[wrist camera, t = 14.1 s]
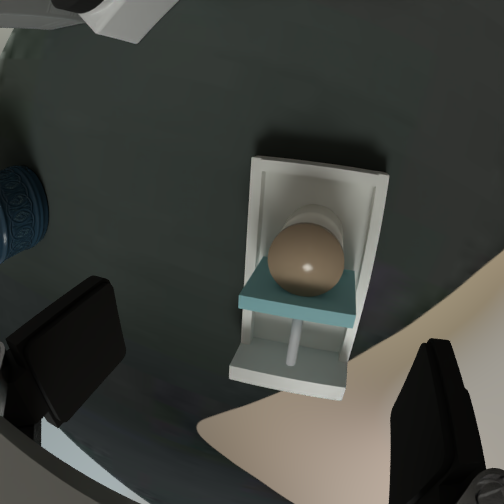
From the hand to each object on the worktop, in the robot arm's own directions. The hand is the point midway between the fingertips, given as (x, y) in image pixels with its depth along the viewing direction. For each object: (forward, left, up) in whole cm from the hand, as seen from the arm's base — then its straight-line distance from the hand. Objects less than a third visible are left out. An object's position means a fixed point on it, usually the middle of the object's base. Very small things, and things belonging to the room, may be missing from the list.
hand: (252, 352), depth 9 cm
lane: (0, +8, -23) cm, 24 cm away
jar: (0, +4, -23) cm, 23 cm away
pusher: (0, +11, -22) cm, 25 cm away
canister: (+42, +5, -23) cm, 48 cm away
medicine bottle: (+20, -20, -23) cm, 36 cm away
